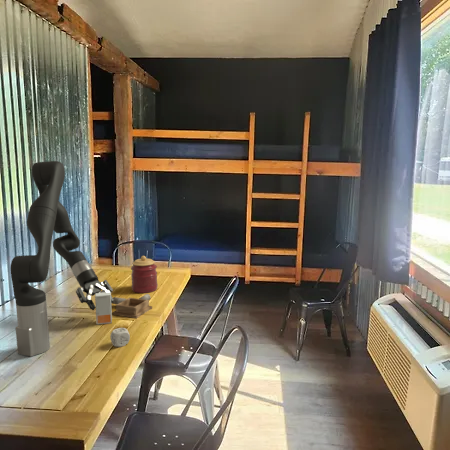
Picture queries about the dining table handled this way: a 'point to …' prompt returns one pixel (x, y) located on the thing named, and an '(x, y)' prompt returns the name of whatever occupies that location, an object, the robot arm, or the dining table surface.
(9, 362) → the dining table surface
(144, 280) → the canister
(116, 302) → the block
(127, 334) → the die
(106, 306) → the skincare box
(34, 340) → the robot arm
